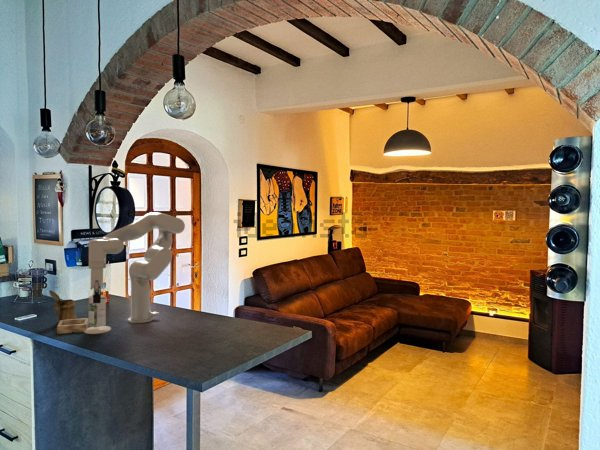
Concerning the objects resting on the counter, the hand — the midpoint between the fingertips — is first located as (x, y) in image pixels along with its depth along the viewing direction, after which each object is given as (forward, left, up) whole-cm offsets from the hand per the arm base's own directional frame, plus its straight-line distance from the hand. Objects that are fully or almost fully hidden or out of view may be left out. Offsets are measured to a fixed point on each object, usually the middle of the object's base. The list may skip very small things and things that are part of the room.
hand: (97, 301), depth 210 cm
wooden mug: (+17, -20, -15) cm, 30 cm away
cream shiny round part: (0, 0, -14) cm, 14 cm away
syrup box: (0, 0, -12) cm, 12 cm away
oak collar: (+11, -6, -14) cm, 19 cm away
